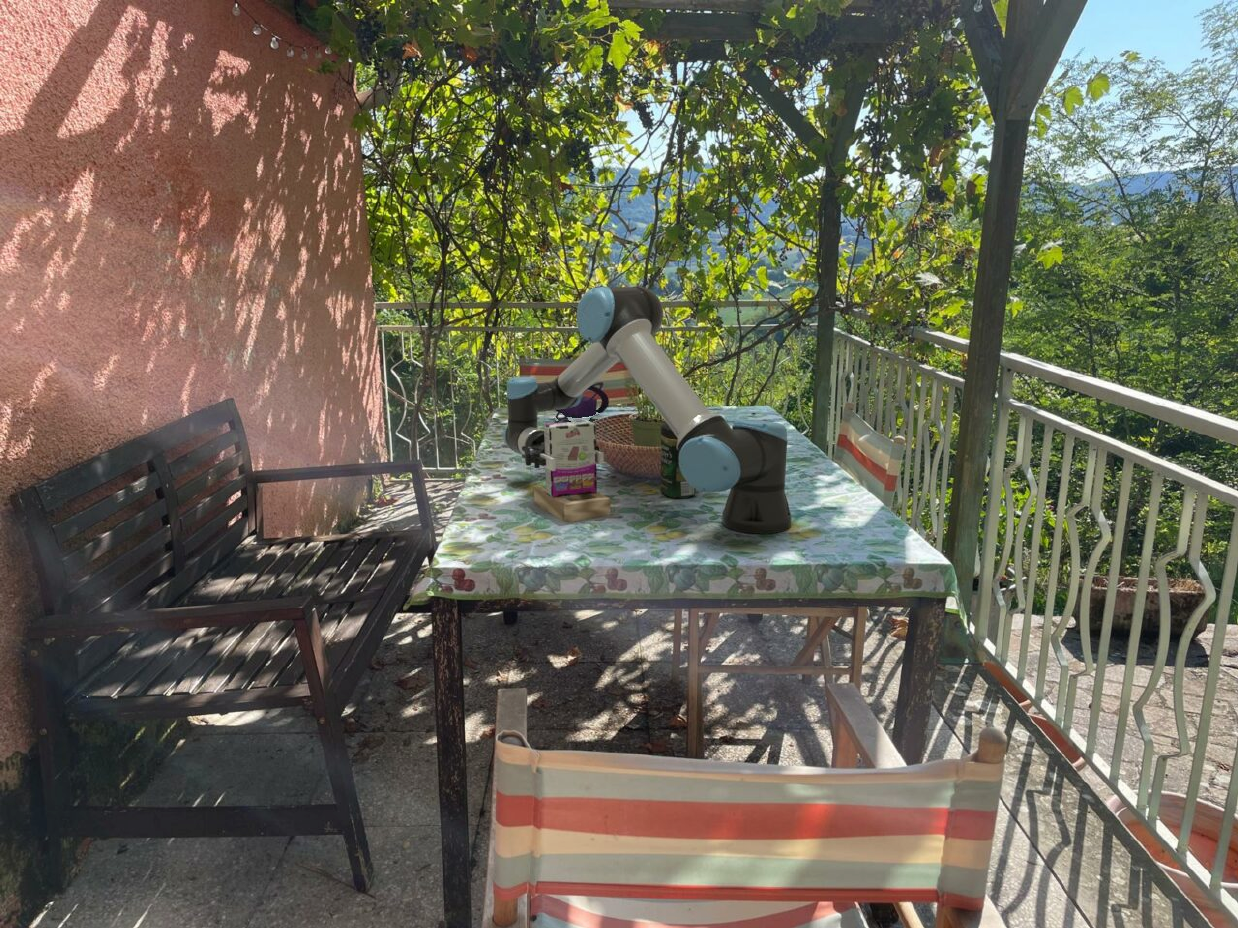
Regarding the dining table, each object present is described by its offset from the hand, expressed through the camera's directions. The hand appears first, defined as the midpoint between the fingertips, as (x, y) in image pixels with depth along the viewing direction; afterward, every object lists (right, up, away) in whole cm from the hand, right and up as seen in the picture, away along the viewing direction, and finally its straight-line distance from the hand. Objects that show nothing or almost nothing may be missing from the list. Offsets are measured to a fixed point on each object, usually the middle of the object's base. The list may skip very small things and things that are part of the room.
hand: (578, 461), depth 190 cm
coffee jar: (+24, -8, +21) cm, 33 cm away
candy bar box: (-2, -7, +5) cm, 9 cm away
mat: (-2, -11, +6) cm, 13 cm away
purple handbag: (-5, +15, +122) cm, 123 cm away
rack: (-2, -11, +6) cm, 13 cm away
